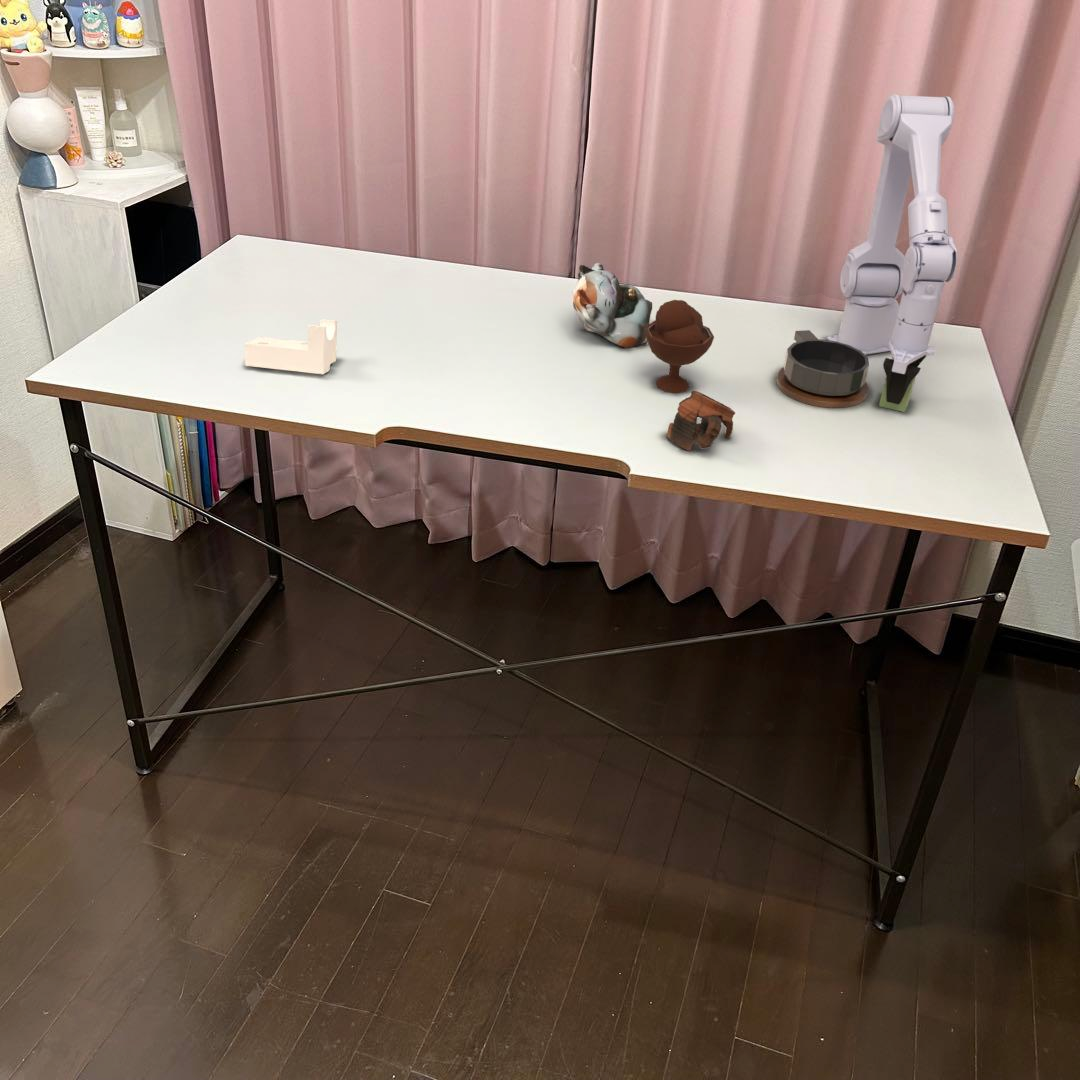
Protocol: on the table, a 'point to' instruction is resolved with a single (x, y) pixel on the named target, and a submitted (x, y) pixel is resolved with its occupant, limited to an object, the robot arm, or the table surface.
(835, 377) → the grey frying pan
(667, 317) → the ice cream bowl
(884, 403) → the block
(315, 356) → the bracket
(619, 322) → the lucky cat figurine
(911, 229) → the robot arm
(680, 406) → the pottery mug
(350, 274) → the table surface
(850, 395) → the lazy susan
